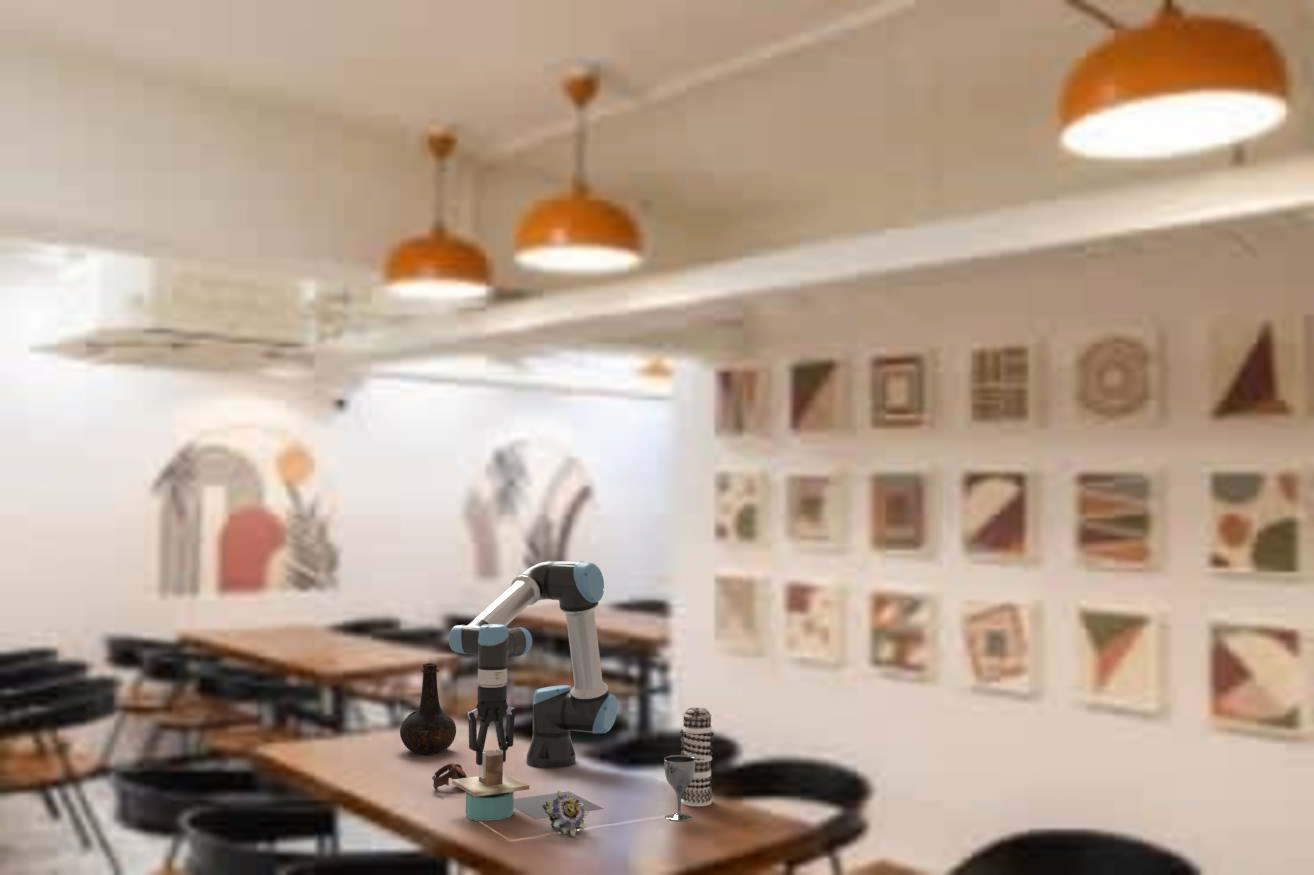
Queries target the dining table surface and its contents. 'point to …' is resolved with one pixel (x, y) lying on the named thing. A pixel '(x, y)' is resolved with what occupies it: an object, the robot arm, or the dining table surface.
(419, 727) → the glass bottle
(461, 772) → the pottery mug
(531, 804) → the mat
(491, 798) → the bowl
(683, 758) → the wine glass
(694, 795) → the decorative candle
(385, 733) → the dining table surface
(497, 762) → the lid
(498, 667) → the robot arm
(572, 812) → the passion flower
